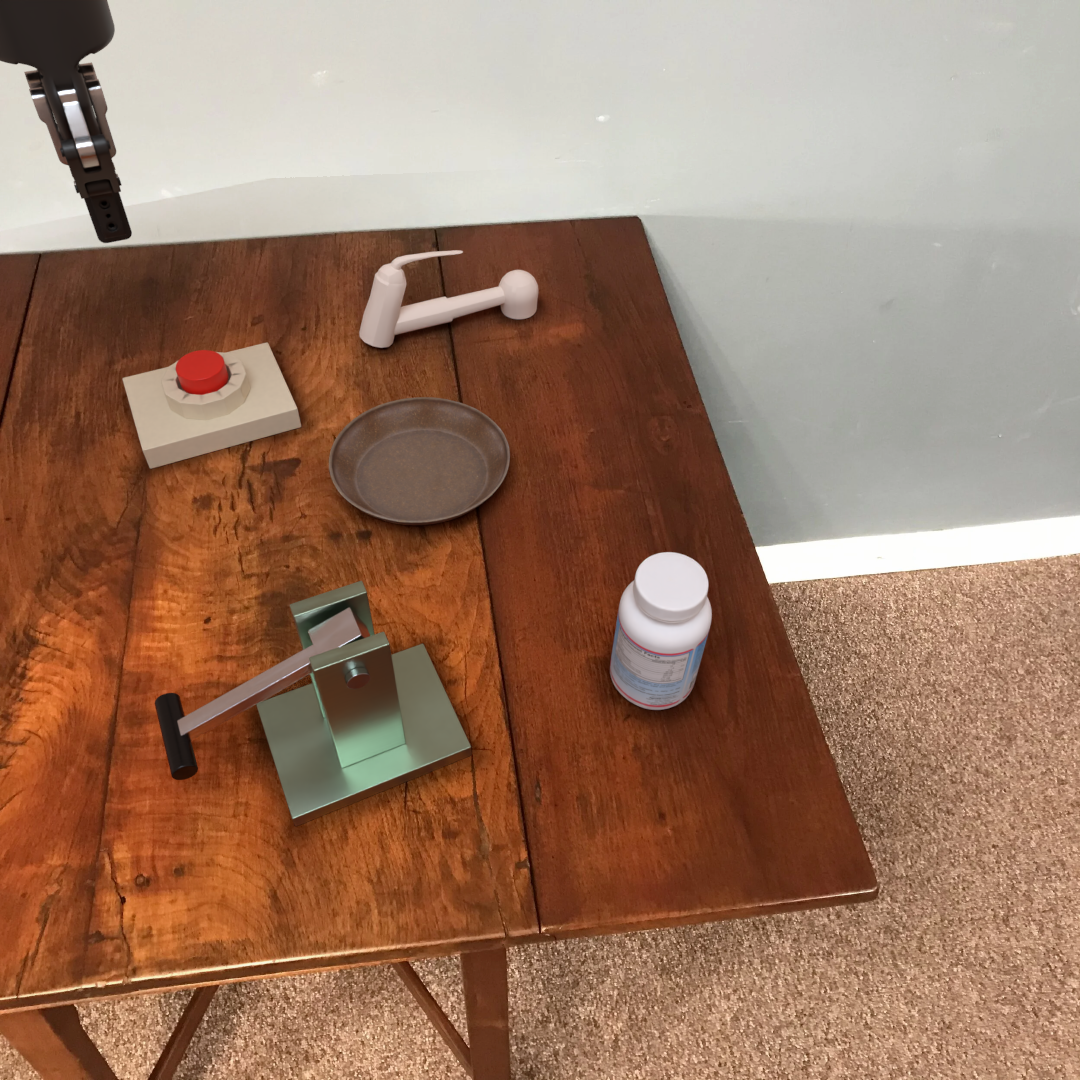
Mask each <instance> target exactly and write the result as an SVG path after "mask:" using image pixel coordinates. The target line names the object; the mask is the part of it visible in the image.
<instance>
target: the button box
mask: <svg viewBox="0 0 1080 1080" xmlns="http://www.w3.org/2000/svg"><path fill="white" fill-rule="evenodd" d="M216 352H217V353H218V354H220V355H221V356H222V357H223V359H224V362H225V365H226V369H227V372H228V381H227V383H226V385H225V386H224V387H222V388H221V389H219V390H218V391H216V392H212V393H208V394H204V395H196V394H190V393H187V392H186V391H185V390H183V388H182V387H181V384H180V381H179V379H178V376H177V373H176V364H177V362H178V361H179V360H180V359H178V360H176V361H175V362H174V363H172V364H171V365H169V366H166V367H162V368H158V369H157V368H156V369H153V370H149V371H145V372H141V373H137V374H133V375H130V376H125V377H122V379H121V380H122V383H123V387H124V390H125V393H126V396H127V400H128V404H129V408H130V411H131V416H132V419H133V422H134V425H135V429H136V432H137V436H138V439H139V443H140V446H141V451H142V453H143V455H144V458H145V460H146V463H147V466H148V468H149V469H155V468H159V467H163V466H166V465H170V464H173V463H177V462H180V461H185V460H187V459H191V458H195V457H198V456H202V455H206V454H209V453H213V452H216V451H220V450H221V451H222V450H225V449H227V448H232V447H235V446H239V445H242V444H245V443H249V442H253V441H256V440H260V439H263V438H267V437H271V436H274V435H279V434H282V433H285V432H289V431H292V430H296V429H299V428H302V423H301V417H300V413H299V408H298V407H297V404H296V402H295V400H294V397H293V395H292V393H291V391H290V389H289V386H288V384H287V381H286V380H285V377H284V376H283V373H282V371H281V368H280V366H279V364H278V361H277V360H276V357H275V356H274V353H273V351H272V349H271V346H270V344H269V342H262V343H259V344H254V345H251V346H247V347H243V348H239V349H234V350H230V351H226V352H222V351H221V352H220V351H216Z"/></svg>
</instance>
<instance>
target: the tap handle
mask: <svg viewBox="0 0 1080 1080" xmlns="http://www.w3.org/2000/svg"><path fill="white" fill-rule="evenodd" d="M308 633H309V635H310V638H311V641H312V643H313V645H311V646H309V647H307V648H305V649H304V650H300V651H298V652H297V653H295V654H293V655H291V656H290V657H289V656H288V658H286V659H284V660H282V661H281V662H278V663H277V664H276V665H274V666H271V667H270V668H268V669H266V670H265V671H262V672H261V673H259V674H257V675H256V676H254V677H252V678H250V679H249V680H247V681H245V682H243V683H241V684H239V685H237V686H236V687H234V688H232V689H231V690H229V691H227V692H225V693H224V694H222V695H220V696H218V697H217V698H215V699H213V700H211V701H210V702H208V703H206V704H204V705H202V706H200V707H199V708H197V709H196V710H194V711H192V712H190V713H187V714H186V715H185V711H184V707H183V702H182V699H181V696H180V695H179V694H178V693H175V692H167V693H163V694H161V695H159V696H157V698H155V701H154V707H155V712H156V717H157V721H158V725H159V729H160V734H161V737H162V741H163V746H164V749H165V754H166V758H167V763H168V767H169V772H170V775H171V778H172V779H174V780H175V781H184V780H188V779H191V778H193V777H194V776H196V774H198V772H199V765H198V762H197V759H196V754H195V751H194V747H193V742H192V741H194V740H196V739H197V738H199V737H201V736H202V735H205V734H206V733H208V732H210V731H211V730H213V729H215V728H217V727H219V726H221V725H222V724H224V723H226V722H228V721H230V720H232V719H233V718H234V717H236V716H238V715H241V714H242V713H243V712H245V711H247V710H249V709H251V708H252V707H254V706H255V705H256V704H258V703H259V702H262V701H264V700H267V699H269V698H271V697H273V696H274V695H275V694H277V693H279V692H281V691H283V690H284V689H286V688H288V687H290V686H291V685H294V684H295V683H297V682H298V681H300V680H302V679H303V678H304V679H305V678H306V677H308V676H310V674H311V673H313V671H312V668H311V664H310V661H309V658H310V657H312V656H315V655H318V654H321V653H323V652H326V651H329V650H332V649H335V648H338V647H341V646H343V645H346V644H349V643H352V642H355V641H358V640H360V639H363V638H366V637H369V636H370V634H369V631H368V629H367V626H366V625H365V624H364V622H363V621H362V620H361V619H360V618H359V617H358V616H357V615H356V613H355V612H354V611H353V610H352V609H351V608H350V607H349V608H347V609H345V610H343V611H341V612H340V613H338V614H336V615H334V616H332V617H331V618H329V619H327V620H325V621H324V622H322V623H320V624H318V625H316V626H315V627H313V628H311V629H309V630H308Z"/></svg>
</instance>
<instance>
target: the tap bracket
mask: <svg viewBox="0 0 1080 1080" xmlns="http://www.w3.org/2000/svg"><path fill="white" fill-rule="evenodd" d="M368 595H369V594H368V591H367V589H366V587H365V584H364V582H363V580H358V581H356V582H353V583H350V584H347V585H344V586H341V587H337V588H335V589H332V590H329V591H325V592H322V593H320V594H316V595H313V596H311V597H308V598H305V599H301V600H299V601H296V602H292V603H290V604H289V609H290V613H291V616H292V619H293V622H294V626H295V629H296V632H297V636H298V640H299V642H300V643H299V644H300V647H301V649H302V650H304V649H305V648H307V647H309V646H311V645H313V643H312V641H311V638H310V635H309V633H308V630H309V629H311V628H313V627H315V626H316V625H318V624H320V623H322V622H324V621H325V620H327V619H329V618H331V617H332V616H334V615H336V614H338V613H340V612H341V611H343V610H345V609H347V608H349V607H350V608H351V609H352V610H353V611H354V612H355V613H356V615H357V616H358V617H359V618H360V619H361V620H362V621H363V622H364V624H365V625H366V626H367V629H368V631H369V634H370V636H369V637H366V638H363V639H360V640H358V641H355V642H352V643H349V644H346V645H343V646H341V647H338V648H335V649H332V650H329V651H326V652H323V653H321V654H318V655H315V656H312V657H310V658H309V661H310V664H311V668H312V671H313V673H311V674H309V676H310V680H311V683H309V684H306V685H303V686H300V687H298V688H295V689H292V690H290V691H287V692H284V693H281V694H278V695H275V696H272V697H269V698H267V699H265V700H263V701H261V702H259V703H258V704H256V708H257V711H258V716H259V718H260V722H261V724H262V728H263V731H264V734H265V737H266V741H267V743H268V747H269V749H270V750H269V751H270V754H271V757H272V759H273V762H274V766H275V770H276V772H277V775H278V779H279V782H280V785H281V788H282V792H283V794H284V795H283V796H284V798H285V801H286V804H287V808H288V810H289V814H290V818H291V820H292V822H293V825H294V827H298V826H300V825H303V824H305V823H309V822H312V821H313V820H315V819H318V818H321V817H323V816H326V815H328V814H330V813H333V812H335V811H338V810H340V809H343V808H346V807H347V806H350V805H353V804H355V803H358V802H360V801H362V800H365V799H367V798H370V797H373V796H375V795H377V794H380V793H382V792H384V791H387V790H390V789H392V788H395V787H397V786H399V785H402V784H404V783H408V782H409V781H412V780H414V779H417V778H419V777H422V776H424V775H426V774H429V773H431V772H433V771H434V772H435V771H436V770H439V769H441V768H444V767H447V766H448V765H451V764H453V763H457V762H459V761H461V760H464V759H466V758H469V757H471V756H472V754H473V753H472V745H471V742H470V741H469V738H468V737H467V734H466V732H465V730H464V728H463V726H462V724H461V721H460V719H459V717H458V715H457V713H456V711H455V709H454V706H453V704H452V702H451V700H450V697H449V695H448V693H447V691H446V689H445V687H444V684H443V683H442V681H441V678H440V676H439V674H438V672H437V669H436V667H435V665H434V663H433V661H432V659H431V657H430V655H429V652H428V650H427V648H426V646H425V644H424V643H419V644H417V645H415V646H412V647H408V648H406V649H403V650H400V651H397V652H395V653H392V651H391V644H390V642H389V639H388V637H387V634H386V632H385V631H381V632H378V633H375V628H374V622H373V617H372V612H371V606H370V601H369V596H368ZM302 650H301V651H302Z"/></svg>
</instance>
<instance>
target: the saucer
mask: <svg viewBox="0 0 1080 1080" xmlns="http://www.w3.org/2000/svg"><path fill="white" fill-rule="evenodd" d="M510 460H511V452H510V445H509V442H508V439H507V437H506V435H505V433H504V432H503V430H502V429H501V427H500V426H498V424H497V423H496V422H495V421H494V420H493V419H492V418H490V417H489V416H488V415H487V414H485V413H483V412H482V411H480V410H479V409H477V408H475V407H473V406H470V405H468V404H465V403H462V402H459V401H456V400H451V399H447V398H441V397H433V396H431V397H429V396H421V397H420V396H419V397H418V396H417V397H406V398H400V399H395V400H391V401H387V402H384V403H381V404H378V405H376V406H373V407H372V408H369V409H367V410H366V411H363V412H362V413H360V414H359V415H357V416H356V417H354V418H353V419H352V420H351V421H350V422H348V423H347V424H346V425H345V426H344V427H343V429H341V431H340V432H339V433H338V434H337V436H336V438H335V439H334V441H333V443H332V445H331V447H330V452H329V457H328V471H329V475H330V479H331V481H332V483H333V485H334V487H335V488H336V490H337V491H338V493H339V494H340V495H341V496H342V498H344V499H345V500H346V501H347V503H349V504H351V506H353V507H354V508H356V509H358V510H360V511H361V512H363V513H365V514H367V515H368V516H370V517H373V518H376V519H378V520H381V521H383V522H387V523H392V524H397V525H402V526H403V525H406V526H427V525H435V524H436V525H437V524H441V523H445V522H448V521H451V520H454V519H457V518H459V517H462V516H464V515H466V514H469V513H470V512H472V511H474V510H476V509H477V508H478V507H479V506H481V505H482V504H484V503H485V502H486V501H487V500H488V499H489V498H490V497H492V496H493V494H495V492H497V490H498V489H499V487H500V486H501V485H502V483H503V482H504V480H505V478H506V476H507V474H508V472H509V471H508V470H509V467H510Z"/></svg>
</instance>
